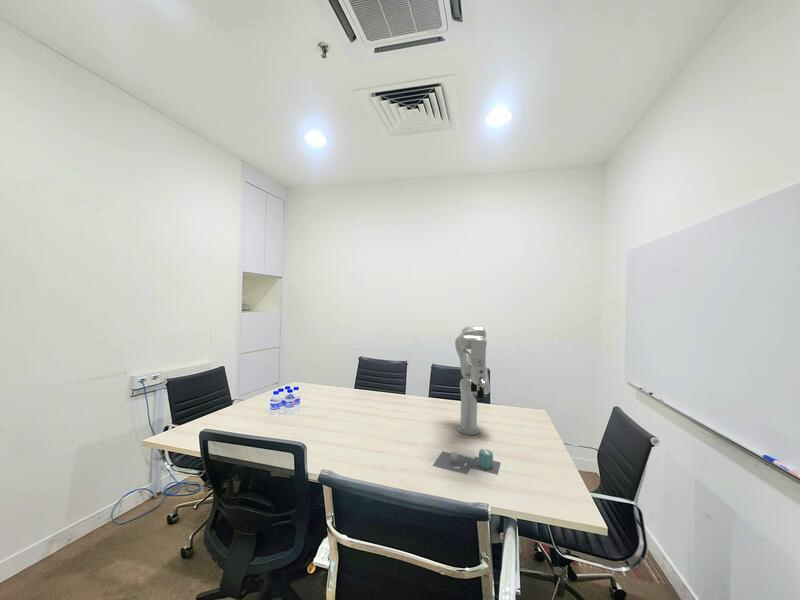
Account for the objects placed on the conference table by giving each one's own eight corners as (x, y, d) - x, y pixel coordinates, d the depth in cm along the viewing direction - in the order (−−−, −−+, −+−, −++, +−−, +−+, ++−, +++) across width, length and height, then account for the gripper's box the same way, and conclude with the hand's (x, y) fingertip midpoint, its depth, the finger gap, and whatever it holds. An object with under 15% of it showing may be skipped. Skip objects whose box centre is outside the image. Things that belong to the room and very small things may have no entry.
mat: (475, 457, 152) (475, 456, 152) (500, 463, 147) (500, 462, 147) (470, 469, 141) (470, 467, 141) (497, 475, 136) (497, 474, 136)
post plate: (442, 452, 157) (442, 442, 157) (474, 459, 150) (474, 449, 151) (432, 466, 142) (432, 456, 143) (467, 475, 136) (467, 464, 136)
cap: (477, 461, 147) (477, 448, 147) (489, 461, 148) (489, 448, 148) (481, 468, 141) (481, 454, 141) (494, 468, 142) (494, 454, 142)
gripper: (491, 365, 152) (490, 400, 153) (479, 358, 170) (478, 389, 170) (476, 366, 152) (475, 400, 152) (465, 358, 169) (464, 389, 169)
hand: (477, 394), depth 161 cm, fingers open, 9 cm apart
